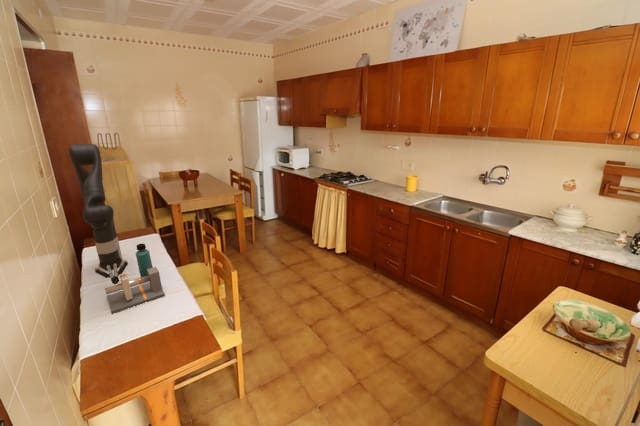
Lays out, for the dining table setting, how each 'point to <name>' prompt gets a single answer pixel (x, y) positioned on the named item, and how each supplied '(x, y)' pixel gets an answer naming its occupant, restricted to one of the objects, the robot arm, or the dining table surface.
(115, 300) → the mount board
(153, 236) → the dining table surface
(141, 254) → the beverage bottle
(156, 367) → the dining table surface
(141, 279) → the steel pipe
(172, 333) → the dining table surface
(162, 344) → the dining table surface
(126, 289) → the beige rectangular block
